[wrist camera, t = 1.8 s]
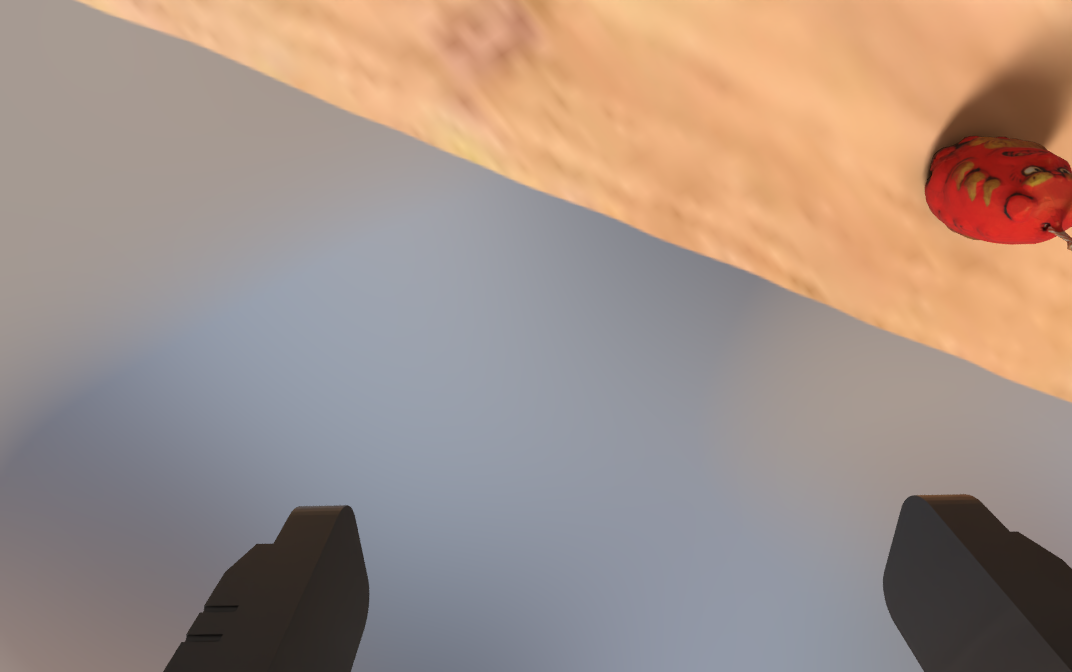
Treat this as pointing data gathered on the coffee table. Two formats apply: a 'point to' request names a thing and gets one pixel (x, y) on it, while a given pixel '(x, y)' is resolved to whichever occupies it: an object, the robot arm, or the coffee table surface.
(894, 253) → the coffee table surface
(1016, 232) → the red clay folk toy
